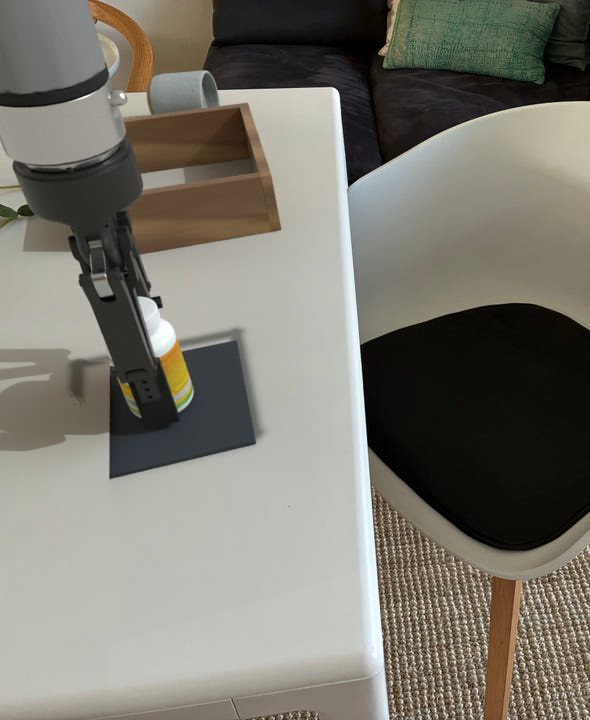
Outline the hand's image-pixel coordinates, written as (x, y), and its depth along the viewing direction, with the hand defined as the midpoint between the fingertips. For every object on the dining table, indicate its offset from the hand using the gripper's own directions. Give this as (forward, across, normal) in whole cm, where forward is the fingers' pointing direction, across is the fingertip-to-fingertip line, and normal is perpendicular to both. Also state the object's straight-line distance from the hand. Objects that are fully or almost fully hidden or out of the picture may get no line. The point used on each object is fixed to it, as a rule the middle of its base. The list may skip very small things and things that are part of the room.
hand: (161, 397), depth 67 cm
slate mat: (+1, 0, 0) cm, 1 cm away
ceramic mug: (+1, +58, -6) cm, 58 cm away
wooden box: (+1, +37, -4) cm, 37 cm away
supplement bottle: (+1, 0, 0) cm, 1 cm away
